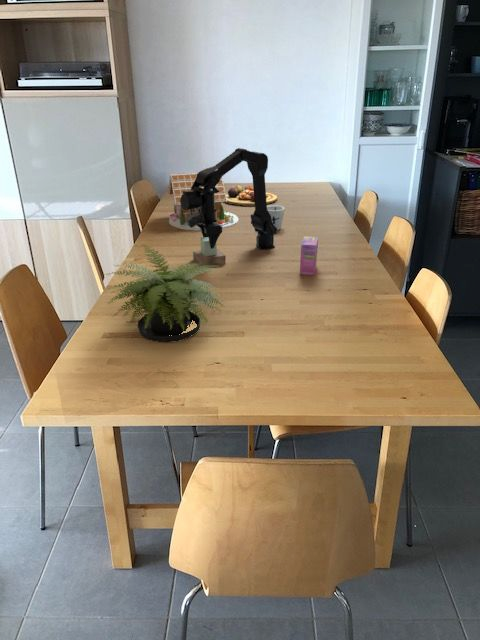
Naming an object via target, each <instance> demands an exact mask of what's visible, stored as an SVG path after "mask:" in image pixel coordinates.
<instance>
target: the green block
mask: <svg viewBox="0 0 480 640" xmlns="http://www.w3.org/2000/svg"><path fill="white" fill-rule="evenodd" d="M217 247H218V246H217V243H216V244H215V246H214V248H213V249H211V248H210V243H209V238H208V237H203V236H202V237H200V250H201V253H202V254H203V255H204V256H211V255H217V249H218V248H217Z"/></svg>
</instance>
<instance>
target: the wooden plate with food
mask: <svg viewBox="0 0 480 640" xmlns="http://www.w3.org/2000/svg"><path fill="white" fill-rule="evenodd" d="M226 198H227V202H226V204H228V203H230V204H229V205H232V204H234V205H233V206H240V205H243V206H242V207H255V201H254V189H253V185H252V186H250V185H246V186H245V187H244V189H243V187H242V186H241V185H239V184H238V185H236V186H232V187H230V188H229V189H228V191H227V194H226ZM266 201H267V204H268V205H271V204H270V203H272V204H274V203H276V202H277V201H278V196H277V195H276V194H273V193H269V192H267V191H266ZM275 201H276V202H275ZM273 202H274V203H273Z"/></svg>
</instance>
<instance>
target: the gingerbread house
mask: <svg viewBox="0 0 480 640" xmlns="http://www.w3.org/2000/svg"><path fill="white" fill-rule="evenodd" d="M198 173H199V172H192V173H175V174H174V173H173V174H172V173H171V174H169V178H168V179H169V182H168V195H170V196H171V195H172V197H173V205H174V206H173V211H174V213H172V214H170V215H169V218H168V223H169V225H170V226H172V227H175V228H177V229H181V230H188V231H201V229H200V227H198V226H197V225H195V226H194V227H192V228H190V227H189V226H188V224H187V221H186V219H185V218H186V217H187V216H189V215H191V214H194V213H196V212H198V209H199V208H194V209H189V210H184V209H183V208H182V206H181V203H180V199H181V196H182V195H183V191H190V190H191V187H192V185H193V183H194V182H195V180H196V177H197V174H198ZM199 187H201V186H199ZM215 187H216V189H217V190H219V193H214V196H215V208H216V212H215V219H216V220H217V222H215V223H218V224H219V225H220V226H221V227H222V229H226V228H229V227H228V226H230V227H232V226H234V225H236V224H238V222H239V217H238V215H236V214H234V213H231V212H228V211H224V207H223V203H225V202H227V198H226V193H227V192H226V188H225V184H224V179H223V176H222V177H221V179H220V182H219V183H218V184H217V185H216V186H215ZM201 188H204V187H201ZM235 223H236V224H235ZM233 224H234V225H233ZM231 225H232V226H231ZM225 227H226V228H225Z"/></svg>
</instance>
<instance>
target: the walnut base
mask: <svg viewBox="0 0 480 640" xmlns="http://www.w3.org/2000/svg"><path fill="white" fill-rule="evenodd" d="M192 254H193V255H192V256H193V257H192V259H193V261H194V262H195V264H197V266H200V265H201V266H203V265H204V266H205V265H206V268H209V267H210V266H211V267H213V266H214V265H215V266H216V267H218V266H222V265H226V261H227V260H226V254H224V253H223V252H222V251H220V250H219V249H218V248H217V255H211V256H204V255H203V254H202V253H201V249H200V250H193V252H192ZM209 265H210V266H209ZM201 266H200V267H199V268H201ZM207 266H208V267H207ZM215 266H214V267H215ZM211 267H210V268H211Z"/></svg>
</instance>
